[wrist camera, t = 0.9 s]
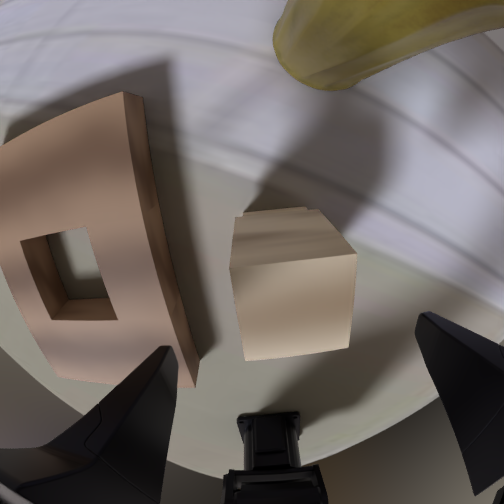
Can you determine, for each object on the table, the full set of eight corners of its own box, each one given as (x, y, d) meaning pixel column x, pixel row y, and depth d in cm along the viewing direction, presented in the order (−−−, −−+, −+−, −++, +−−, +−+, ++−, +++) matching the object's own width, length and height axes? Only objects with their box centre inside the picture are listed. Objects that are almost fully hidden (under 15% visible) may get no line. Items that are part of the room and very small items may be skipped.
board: (199, 360, 22) (195, 387, 19) (70, 356, 22) (58, 376, 20) (142, 97, 14) (122, 91, 11) (-1, 156, 14) (-25, 163, 12)
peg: (312, 266, 19) (348, 347, 11) (245, 273, 19) (245, 361, 11) (310, 200, 17) (357, 253, 9) (236, 207, 17) (229, 267, 10)
